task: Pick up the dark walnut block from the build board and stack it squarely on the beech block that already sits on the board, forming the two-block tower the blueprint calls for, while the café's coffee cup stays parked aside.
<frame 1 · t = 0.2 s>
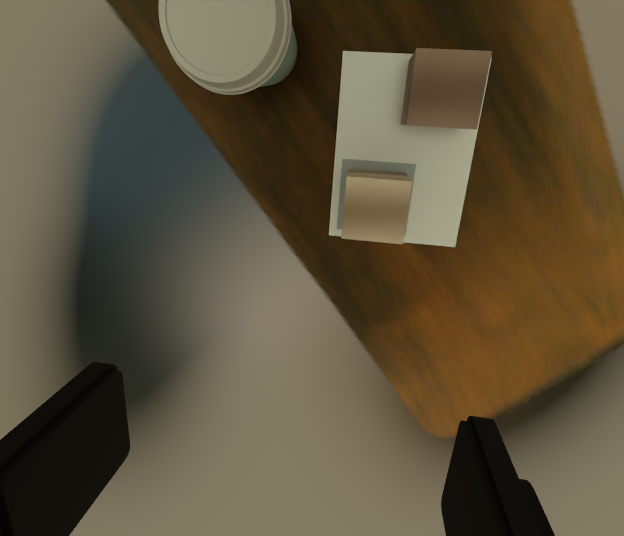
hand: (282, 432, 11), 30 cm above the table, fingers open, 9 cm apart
build board: (401, 153, 37), on the table
coffee cup: (265, 50, 36), on the table
beech block: (374, 197, 37), point 1 cm above the table, touching build board
walnut block: (434, 95, 34), point 1 cm above the table, touching build board
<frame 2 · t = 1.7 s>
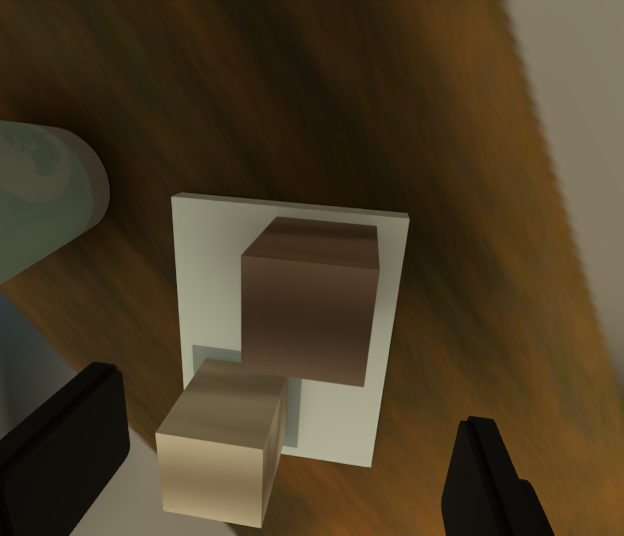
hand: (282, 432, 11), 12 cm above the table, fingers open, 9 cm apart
build board: (285, 335, 24), on the table
coffee cup: (64, 180, 22), on the table
beech block: (246, 398, 24), point 1 cm above the table, touching build board
walnut block: (322, 267, 21), point 1 cm above the table, touching build board
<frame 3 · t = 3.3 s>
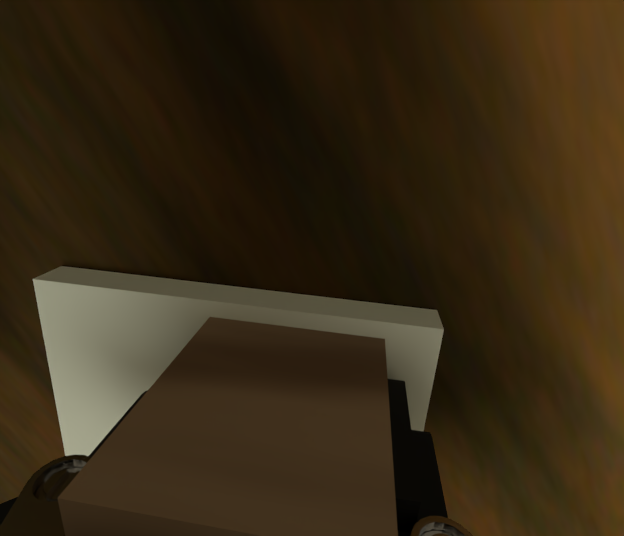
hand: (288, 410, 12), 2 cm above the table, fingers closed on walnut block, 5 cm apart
build board: (238, 481, 15), on the table
walnut block: (291, 400, 12), point 1 cm above the table, touching build board, gripper
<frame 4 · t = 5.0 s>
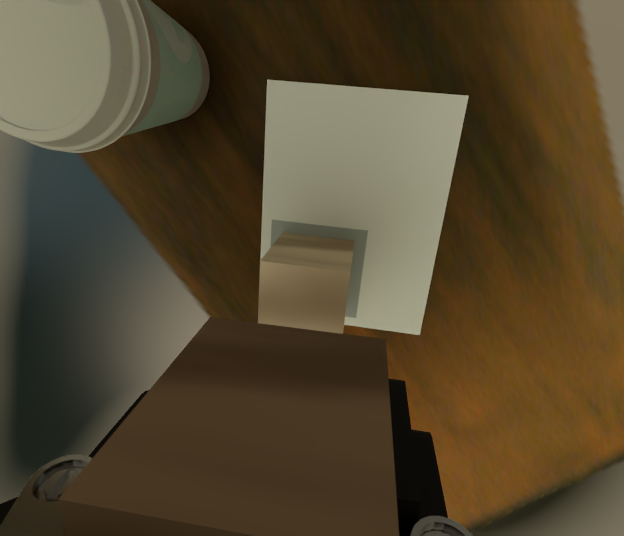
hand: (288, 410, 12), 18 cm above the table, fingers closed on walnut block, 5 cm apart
build board: (350, 214, 28), on the table
coffee cup: (169, 73, 26), on the table
beech block: (315, 270, 28), point 1 cm above the table, touching build board
walnut block: (291, 400, 12), point 18 cm above the table, touching gripper
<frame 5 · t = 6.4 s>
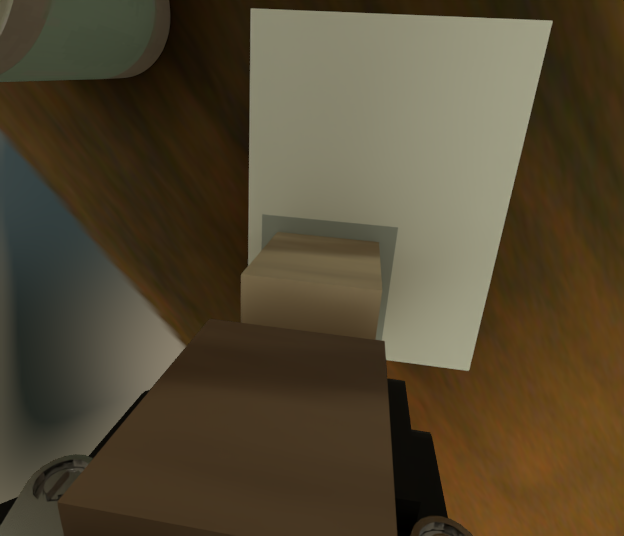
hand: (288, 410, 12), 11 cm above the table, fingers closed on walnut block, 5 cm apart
build board: (372, 205, 20), on the table
coffee cup: (114, 10, 19), on the table
beech block: (323, 283, 20), point 1 cm above the table, touching build board
walnut block: (290, 402, 12), point 10 cm above the table, touching gripper
when the fingers open (9 cm above the table, at t = 7.2 s): walnut block stays where it is, resting on beech block.
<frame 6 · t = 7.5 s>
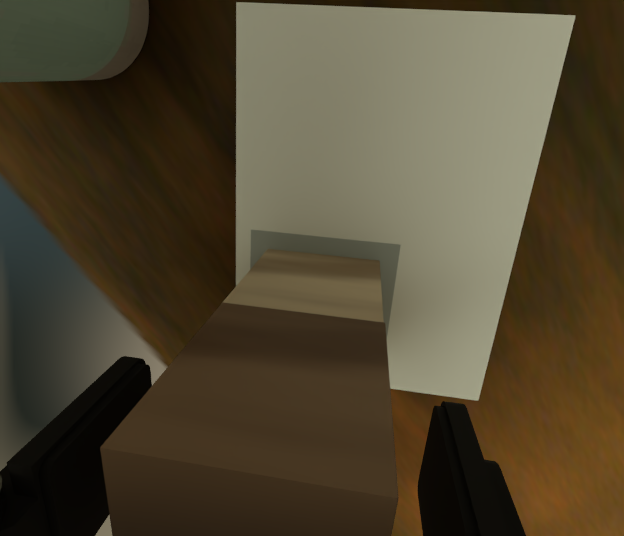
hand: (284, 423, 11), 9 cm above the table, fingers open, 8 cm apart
build board: (372, 219, 18), on the table
coffee cup: (88, 5, 17), on the table
beech block: (318, 305, 19), point 1 cm above the table, touching build board, walnut block
walnut block: (297, 381, 13), point 7 cm above the table, touching beech block
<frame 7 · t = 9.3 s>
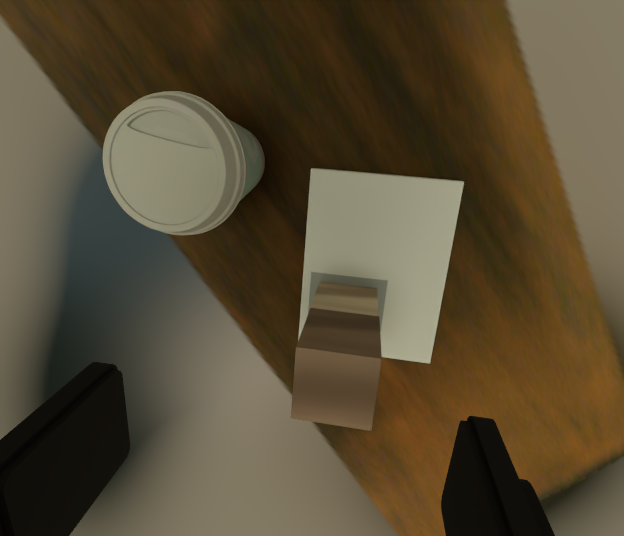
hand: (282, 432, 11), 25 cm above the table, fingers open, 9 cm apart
build board: (373, 267, 35), on the table
coffee cup: (232, 160, 34), on the table
beech block: (345, 311, 35), point 1 cm above the table, touching build board, walnut block
walnut block: (341, 342, 30), point 7 cm above the table, touching beech block
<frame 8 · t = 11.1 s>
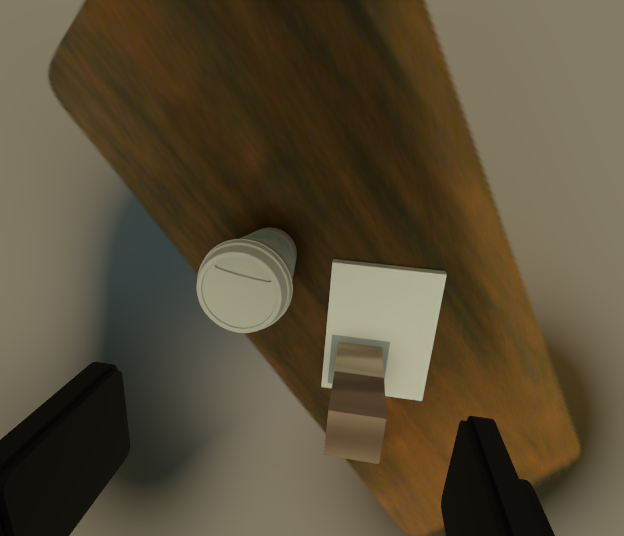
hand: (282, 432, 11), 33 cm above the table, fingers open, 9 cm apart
build board: (379, 329, 46), on the table
coffee cup: (271, 251, 45), on the table
beech block: (357, 363, 47), point 1 cm above the table, touching build board, walnut block
walnut block: (356, 395, 41), point 7 cm above the table, touching beech block
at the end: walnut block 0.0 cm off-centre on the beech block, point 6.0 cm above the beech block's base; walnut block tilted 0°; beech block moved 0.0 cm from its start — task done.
